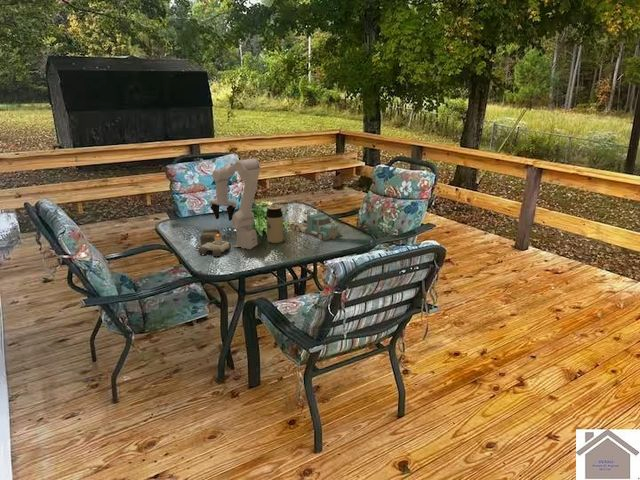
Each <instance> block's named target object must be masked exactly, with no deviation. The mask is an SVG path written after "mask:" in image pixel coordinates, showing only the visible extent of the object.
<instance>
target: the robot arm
mask: <svg viewBox="0 0 640 480" xmlns="http://www.w3.org/2000/svg"><path fill="white" fill-rule="evenodd" d="M261 169H262V168H261V164H260V161H259V159H257V158H255V157H254V158H250V159H241V160H240V159H239V160H236V161H235V162H234V163H233V164H228V163H226V164H224V166H221V167H220V168H219V169H214V170H213V171H212V174H211V175H212V179H213V181H214V182H215V193H216V194H215V195H216V200H214V199H212V200H211V199H210V200H209V205H210V209H211V211H212V212H213V214H214V217H215V219H216V220H218V219H220V206H222V207H223V206H224V207H226V211H227V215H228V221H231V226H232V228H233V229H234V230H235V234H236V244H235V245H233V248H237V247H241V248H240V249H245V248H246V250H252V249H253V248H254V247H257V246H258V245H259V243H258V236H257V235H258V234H257V230H256V229H253V226H254V224H255V213H254V212H253V210H252V209H253V208H252V207H253V204H254V199H255V195H256V191H257V187H258V182H259V176H260V173H261ZM236 173H237V174H238V176H239V177H240V179H241V181H242V182H244V188H243V191H242V196H241V201H240V205H239V209H238V210H237V211H236V212H235V209H236V208H237V202H235V201H230V200H229V191H228V190H229V189H228V184H229V179H230V178H232V177H233V176H234V175H235V174H236Z"/></svg>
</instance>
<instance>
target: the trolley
mask: <svg viewBox="0 0 640 480" xmlns="http://www.w3.org/2000/svg"><path fill="white" fill-rule="evenodd" d="M198 247H200V248H198ZM195 249H199V250H198V254H199V253H200V254H205V255H207V253H208V251H212V253H211V254H212V256H213V257H214V256H219V257H220V256H221V255H222V252H228V251H231V249H232V246H231V244H230V243H229V242H228V241H224V240H222V246H219V245H215V241H213V242H211V243H209V242H208V243H206V244H204V245H201V244H199V245H197V246H195V247H194V250H195ZM224 250H226V251H224ZM200 254H199V255H200Z"/></svg>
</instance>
